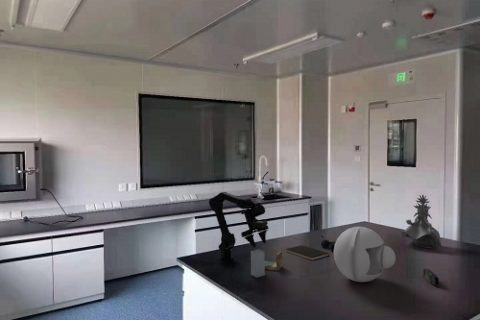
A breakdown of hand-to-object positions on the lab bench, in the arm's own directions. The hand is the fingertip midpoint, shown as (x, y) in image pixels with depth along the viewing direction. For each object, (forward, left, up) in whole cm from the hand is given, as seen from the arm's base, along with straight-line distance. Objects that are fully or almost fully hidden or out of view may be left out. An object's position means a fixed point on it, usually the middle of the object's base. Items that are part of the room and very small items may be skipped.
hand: (260, 245), depth 203 cm
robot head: (+56, -1, -13) cm, 58 cm away
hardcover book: (+20, +36, -14) cm, 44 cm away
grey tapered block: (+2, -11, -13) cm, 17 cm away
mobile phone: (+88, +9, -14) cm, 90 cm away
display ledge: (+5, +3, -13) cm, 14 cm away
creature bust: (+91, +78, -13) cm, 121 cm away
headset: (+35, +53, -14) cm, 66 cm away
